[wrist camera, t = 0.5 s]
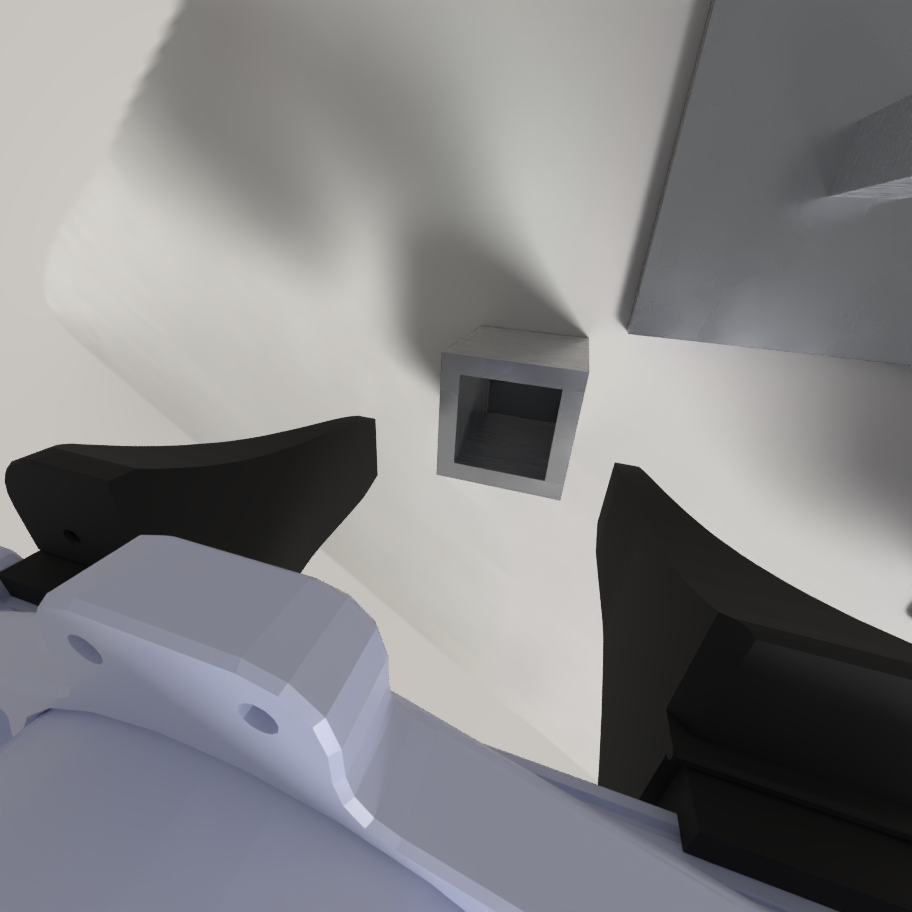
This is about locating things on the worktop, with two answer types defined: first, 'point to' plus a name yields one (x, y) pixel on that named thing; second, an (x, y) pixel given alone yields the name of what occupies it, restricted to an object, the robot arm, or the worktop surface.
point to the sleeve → (503, 436)
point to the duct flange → (790, 185)
